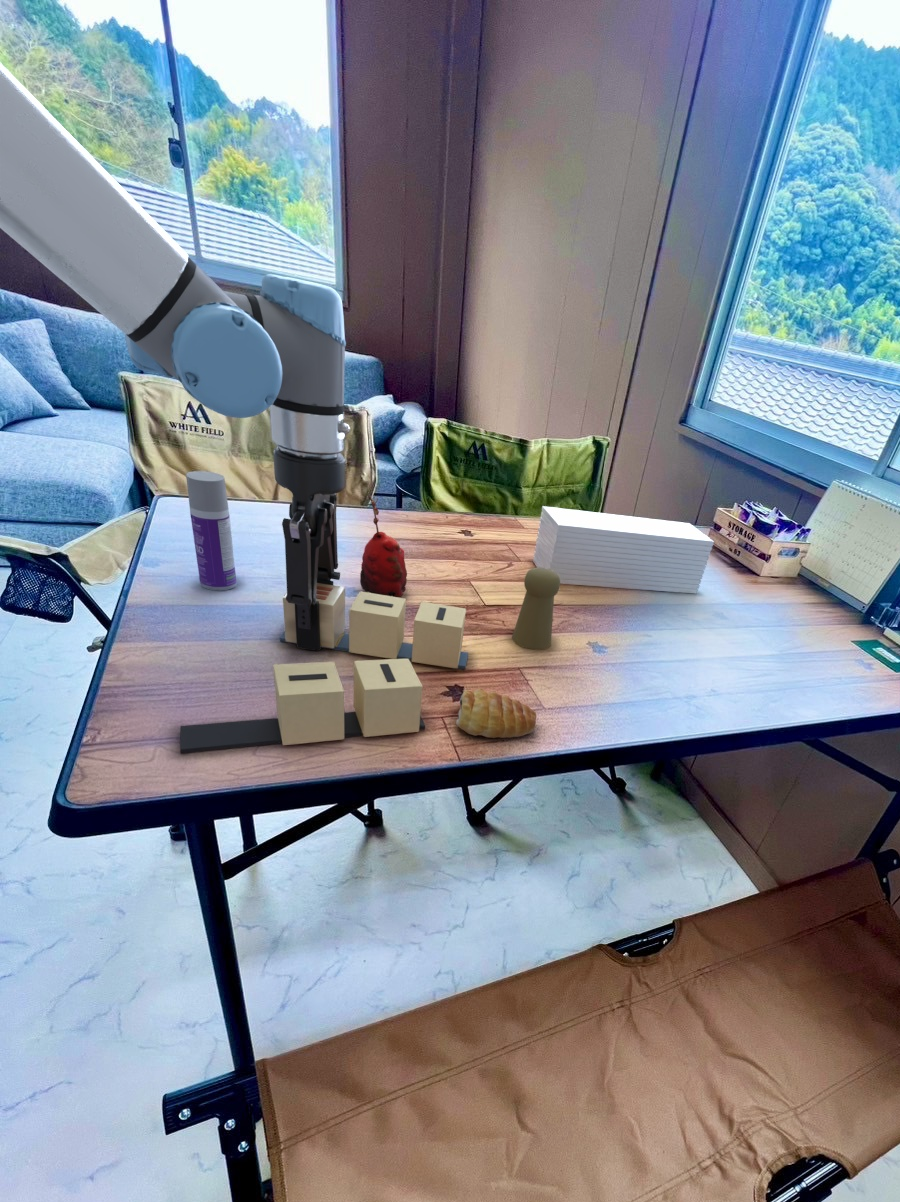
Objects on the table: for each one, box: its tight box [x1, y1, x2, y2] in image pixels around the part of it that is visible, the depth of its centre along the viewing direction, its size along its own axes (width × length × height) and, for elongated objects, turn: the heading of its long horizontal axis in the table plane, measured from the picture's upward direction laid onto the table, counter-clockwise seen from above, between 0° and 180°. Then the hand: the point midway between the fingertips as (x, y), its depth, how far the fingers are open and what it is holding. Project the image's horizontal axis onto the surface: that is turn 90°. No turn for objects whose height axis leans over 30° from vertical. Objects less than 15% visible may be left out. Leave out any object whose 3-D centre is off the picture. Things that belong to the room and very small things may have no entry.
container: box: [185, 470, 237, 591], centre depth 85 cm, size 5×5×15 cm
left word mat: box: [179, 658, 426, 754], centre depth 65 cm, size 24×6×7 cm, turn 114°
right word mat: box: [279, 590, 469, 670], centre depth 81 cm, size 24×6×7 cm, turn 91°
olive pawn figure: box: [511, 567, 561, 651], centre depth 91 cm, size 6×6×11 cm
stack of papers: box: [532, 505, 715, 594], centre depth 121 cm, size 32×11×11 cm, turn 106°
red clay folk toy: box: [359, 494, 408, 598], centre depth 94 cm, size 8×7×15 cm
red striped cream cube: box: [282, 583, 346, 649], centre depth 80 cm, size 6×6×6 cm
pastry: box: [455, 688, 537, 739], centre depth 73 cm, size 9×7×4 cm
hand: (316, 636), depth 82 cm, fingers closed on red striped cream cube, 6 cm apart
